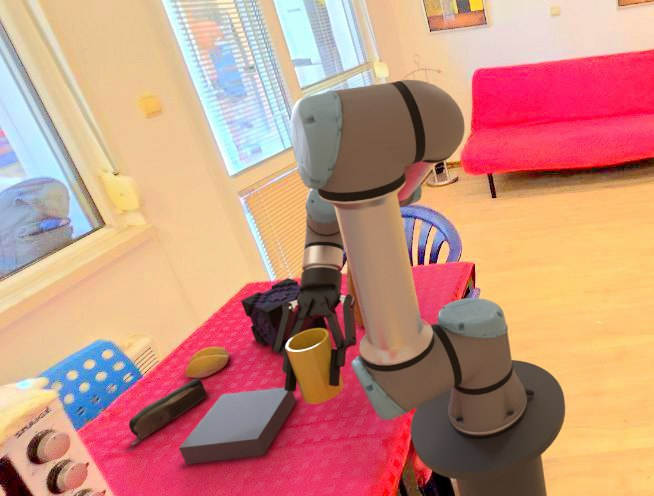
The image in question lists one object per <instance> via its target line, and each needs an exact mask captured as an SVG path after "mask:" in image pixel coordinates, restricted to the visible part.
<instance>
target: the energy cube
mask: <svg viewBox="0 0 654 496" xmlns="http://www.w3.org/2000/svg"><path fill="white" fill-rule="evenodd" d="M299 295H300V284H299V282H298V281H297V280H295V279H292V278H289V277H287V278H285V279H284V280H283V279H282V280H281V281H279V282H276V283H275V284H273V285H271V288H270V289H268V290H266V291H264V292H260V291H258V292H256V293H254V294H252V295H250V296H247V297H245V298H243V299H241V300H240V302H241V305H242V307H243V310H244V313H245V316H246V317H248V318H250V320H251V321H250V322H251V323H252V325H251V326H250V329H251V332H252V335H253V337H254V341H255V342H256V343H258V344H260V345H262V346H264V347H267V346H271V349H272V351H274V346H275V342H276V338H277V335H278V331H279V327H280V323H281V319H282V315H283V308H282V304H283V302H285V301H287V302H292V301H295V300H297V299H298V297H299ZM301 310H302V309H301V308H300V306H298V308H297V311H296V312H295V319H294V323H293V327H292V331H291V334H292V332H293V329H294V327H295V325H296V323H297V321H298V316H299V314H300V312H301ZM325 319H326V318H325V317H322V316H320V317H317V318H314V319H313V321H312V322H311V323H310V324H309V326H308V328H307V330H309V329H314V328H323V329H326V330H327V329H328V327H327V323H326V320H325ZM290 336H291V335H290ZM279 354H280V355H283V354H281V353H279Z"/></svg>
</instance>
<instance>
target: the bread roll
mask: <svg viewBox="0 0 654 496" xmlns="http://www.w3.org/2000/svg"><path fill="white" fill-rule="evenodd" d="M229 357H230V354H229V352H228V350H227V349H225V348H223V347H220V346H215V345H214V346H207V347H204V348H202V349H200V350H198V351H196V352H195V353H194V354H193V355H192V357H190V358H189V360H188V365H187V366H186V368H185V372H184V373H185V376H186V377H188V378H192V379H196V378H198V379H202V378H206V377H209V376H212V375H214V374H215V373H218V372H219V371H220V370H222V369H223V368H224V367H226V365H227V364H228V362H229Z"/></svg>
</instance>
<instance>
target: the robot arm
mask: <svg viewBox="0 0 654 496" xmlns="http://www.w3.org/2000/svg"><path fill="white" fill-rule="evenodd" d="M465 128H466V127H465V118H464V115H463V112H462V110H461V108H460V106H459V104H458V102H456V100H455V99H454V98H453V97H452V96H451V95H450V94H449V93H448V92H447V91H446V90H444V89H443V88H441V87H439V86H437V85H436V84H433V83H430V82H428V81H425V80H419V79H418V80H417V79H402V80H397V81H393V82H385V83H380V84H372V85H366V86H365V85H364V86H357V87H351V88H344V89H337V90H327V91H326V92H323V93H319V94H318V93H317V94H314V95H313V94H312V95H309V96H304V97H302V98H300V99H299V100H297V101H296V103H295V104H294V106H293V108H292V111H291V117H290V135H291V143H292V150H293V155H294V159H295V162H296V165H297V166H296V167H297V170H298V174H299V177H300V180H301V181H302V183H303V184H304V186H305V187H307V188H308V189H310V190H309V192H308V194H307V198H306V203H305V210H306V217H305V218H306V219H305V239H304V248H303V255H302V264H301V269H302V272H301V275H300V282H299V283H300V284H299V285H300V295H299V297H298V299H297V300H295V301H292V302H287V301H285V302H283V304H282V308H283V315H282V319H281V323H280V327H279V331H278V335H277V338H276V342H275V346H274V350H273V351H274V353H278V354H280V353H281V354H280V355H282V354H283V360H282V369H281V371H282V373H284V374H285V381H284V387H285V389H284V390H286V391H293V392H296V391H297V385H298V383H297V380H296V377H295V374H294V371H293V368H292V365H291V362H290V360H289V357H288V354H287V351H286V343H287V342H288V341H289V339H291V338H292V337H293V336H295V335H296V334H298V333H301V332H303V331H306V330H307V328H308V326H309V324H310V323H311V322H312V321H313V319H314V318H317V317H320V316H322V317H324V319H326V322H327V325H328V327H329V330H330V333H331V336H332V340H333V343H334V349H332V350H331V362H330V376H329V385H331V386H339V379H340V371H341V368H342V367H343V368H344V367H345V366H346V357H347V356H346V355H347V350H348V348H351V347H354V346H356V345H357V343H358V342H357V328H356V320H355V317H354V306H355V302H356V298H355V297H353V296H352V295H350V294H348V293H347V294H346V295H344V294H343V293H342V292H341V289H342V283H343V282H342V278H343V273H342V272H341V271H342V270H343V265H344V251H345V255H346V261H347V260H348V264H349V268H350V272H351V276H352V280H353V284H354V288H355V292H356V296H357V300H358V304H359V308H360V312H361V316H362V320H363V324H364V327H363V328H364V331H365V334H364V335H363V336H362V338H361V339H360V342H359V354H360V355H357V356H356V357H355V358H354V359H353V360H352V361H351V363H350V365H351V367H352V370H353V372H354V374H355V376H356V377H357V380H358V382H359V384H360V386H361V388H362V390H363V392H364V394H365V395H366V397H367V400H368V401H369V403H370V405H371V407H372V408H373V410H374V412H375V413H376V415H377V417H378V418H379V419H381V420H383V421H392V420H394V419H396V418H399V417H401V416H403V415H407V414H409V413H410V412H411V411H413V410H414V409H415V410H416V408H417V407H419V406H420V405H422V404H424V403H426V402H428V401H430V400H432V399H433V398H435V397H437V396H439V395H441V394H443V393H445V392H446V391H448V390H450V389H451V392H450V396H449V397H450V400H448V401H449V405H448V415H449V420H450V423H451V426H452V427H453V429H454V430H455V431H456V432H457V433H459V434H461V435H463V436H465V437H468V438H474V439H484V438H491V437H495V436H498V435H500V434H503V433H505V432H507V431H508V430H510V429H512V428H513V427H514V426H516V425H517V424H518V423H519V422H520V421H521V419H522V418H523V416H524V415H525V413H526V410H527V404H528V403H527V395H531V396H533V395H534V391H532V390H527V389H524V387H523V385H522V383H521V381H520V380H519V378H518V376H517V375H516V373H515V371H514V370H513V366H512V360H513V359H512V353H511V345H510V340H509V331H508V330H509V326H508V324H507V321H506V317H505V313H504V310H503V309H502V306H500V305H499V304H497V302H494V301H492V300H489V299H486V298H478V297H467V298H466V297H465V298H460V299H456V300H453V301H451V302H449V303H447V304H445V305H444V306H443V307H442V308H441V309H440V310H439V311H438V313H437V314H438V315H437V318H436V319H437V322H435V323H433V324H430V323H429V322H428V321H427V320H425V319H423V318H422V317H421V312H420V306H419V301H418V297H417V291H416V286H415V285H416V284H415V280H414V275H413V270H412V269H413V268H412V265H411V259H410V254H409V247H408V243H407V238H406V232H405V228H404V227H405V226H404V222H403V217H402V211H401V208H404V207H408V206H410V205H412V204H415V203H417V202H419V201H420V200H421V199H422V193H423V192H422V191H423V190H422V182H423V181H424V180H425V178H427V176H428V175H429V174H430V173H431V171H432V170H433V169H434V168H435V166H436V165H437V164H439V163H442V162H445V161H447V160H448V159H449V158H450V157H452V156H453V155H454V153H456V151H457V150H458V148H459V146H460V145H461V144H462V141H463V139H464V135H465ZM340 304H341V305H342V313H343V314H342V315H343V327H344V333H343V330H342V327H341V324H340V322H339V319H338V318H339V315H338V313H337V310H336V309H337V308H338V306H339V305H340ZM298 306H300V308H301V309H302V310H301V312H300V314H299V316H298V321H297V323H296V325H295V327H294V329H293V332H292V334H291V331H292V327H293V323H294V319H295V312H296V311H297V308H298ZM290 335H291V336H290Z"/></svg>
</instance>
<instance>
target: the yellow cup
mask: <svg viewBox="0 0 654 496" xmlns="http://www.w3.org/2000/svg"><path fill="white" fill-rule="evenodd" d="M332 349H335V347H334V345H333V342H332V339H331V335H330V332H329V330H327V329H323V328H314V329H309V330H306V331H303V332H301V333H298V334H296V335H295V336H293V337H292V338H291V339H289V341H288V342H287V343H286V351H287V354H288V357H289V360H290V362H291V365H292V368H293V371H294V374H295V377H296V380H297V385H298V388H299V391H300V394H301V397H302V398H303V401H304V402H305V403H307V404H310V405H317V404H321V403H326V402H328V401H330V400H332V399H333V398H335V397H336V396H338V395H339V394H340V393H341V392H342V391H343V389H344V386H345V382H344V378H343V374H342V371H341V370H340V379H339V386H331V385H329V376H330V362H331V350H332Z"/></svg>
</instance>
